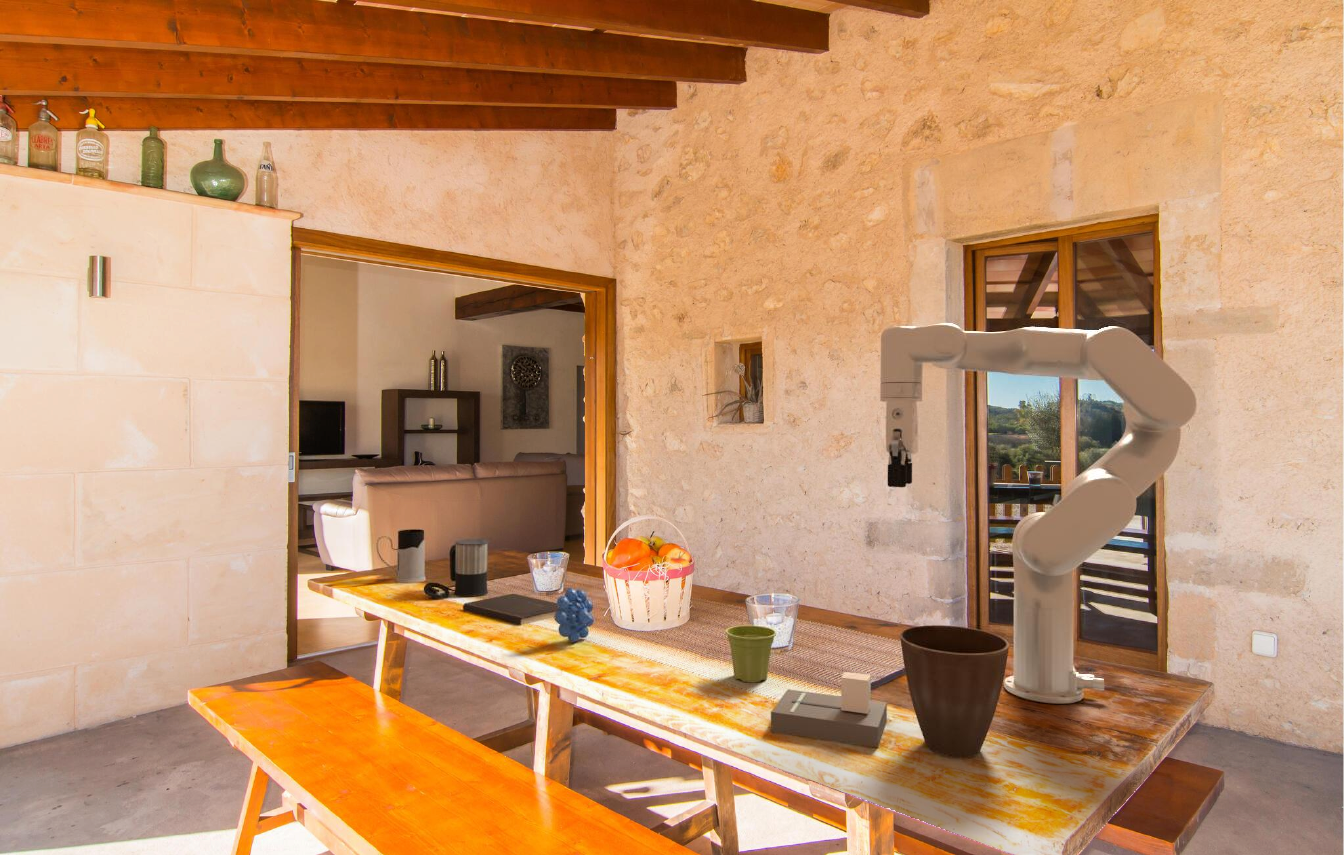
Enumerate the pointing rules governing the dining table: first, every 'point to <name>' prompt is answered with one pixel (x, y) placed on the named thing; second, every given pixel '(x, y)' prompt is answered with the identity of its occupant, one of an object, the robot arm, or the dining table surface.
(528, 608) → the hardcover book
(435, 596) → the milk frother
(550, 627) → the dining table surface
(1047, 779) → the dining table surface
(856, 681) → the block
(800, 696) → the block
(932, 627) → the plant pot
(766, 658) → the plant pot
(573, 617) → the grapes
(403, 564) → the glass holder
